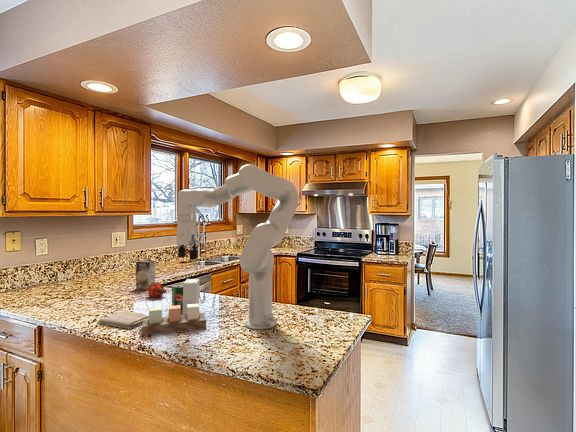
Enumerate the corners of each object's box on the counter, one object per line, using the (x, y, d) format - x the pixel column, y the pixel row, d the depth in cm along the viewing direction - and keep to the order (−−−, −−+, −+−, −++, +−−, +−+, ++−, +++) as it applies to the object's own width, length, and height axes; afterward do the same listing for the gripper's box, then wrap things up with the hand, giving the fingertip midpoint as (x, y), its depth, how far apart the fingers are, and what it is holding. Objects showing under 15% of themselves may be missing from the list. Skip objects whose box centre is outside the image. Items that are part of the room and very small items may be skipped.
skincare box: (186, 311, 151) (186, 278, 151) (199, 310, 151) (199, 278, 151) (182, 316, 142) (182, 282, 142) (196, 316, 143) (196, 282, 143)
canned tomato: (181, 305, 160) (181, 282, 160) (192, 307, 156) (192, 284, 156) (167, 309, 154) (167, 285, 153) (179, 311, 150) (179, 287, 149)
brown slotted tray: (203, 320, 138) (203, 312, 138) (205, 328, 128) (206, 320, 128) (143, 326, 130) (143, 318, 130) (141, 335, 121) (141, 326, 121)
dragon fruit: (152, 297, 182) (161, 304, 173) (140, 290, 176) (149, 297, 168) (162, 283, 184) (171, 290, 176) (150, 276, 179) (159, 283, 171)
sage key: (161, 319, 130) (161, 306, 130) (161, 322, 126) (161, 309, 125) (149, 320, 128) (149, 307, 128) (149, 324, 124) (149, 311, 124)
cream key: (198, 315, 134) (198, 303, 134) (199, 318, 130) (199, 306, 130) (186, 316, 133) (186, 304, 133) (187, 320, 129) (187, 307, 129)
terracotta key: (180, 317, 132) (180, 305, 132) (180, 320, 128) (180, 308, 128) (168, 318, 131) (168, 306, 130) (168, 322, 126) (168, 309, 126)
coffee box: (135, 288, 195) (135, 261, 195) (141, 286, 201) (141, 260, 201) (149, 289, 193) (149, 262, 193) (155, 287, 200) (155, 260, 200)
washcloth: (131, 330, 127) (131, 322, 127) (96, 325, 133) (96, 317, 133) (153, 321, 138) (153, 313, 138) (120, 316, 145) (120, 309, 144)
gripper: (169, 218, 146) (169, 257, 146) (189, 219, 134) (190, 261, 134) (185, 218, 151) (185, 255, 151) (205, 218, 139) (206, 259, 139)
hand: (187, 258), depth 143 cm, fingers open, 9 cm apart
